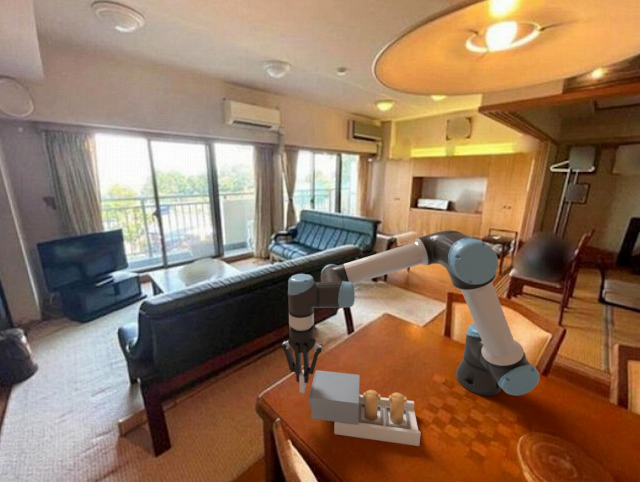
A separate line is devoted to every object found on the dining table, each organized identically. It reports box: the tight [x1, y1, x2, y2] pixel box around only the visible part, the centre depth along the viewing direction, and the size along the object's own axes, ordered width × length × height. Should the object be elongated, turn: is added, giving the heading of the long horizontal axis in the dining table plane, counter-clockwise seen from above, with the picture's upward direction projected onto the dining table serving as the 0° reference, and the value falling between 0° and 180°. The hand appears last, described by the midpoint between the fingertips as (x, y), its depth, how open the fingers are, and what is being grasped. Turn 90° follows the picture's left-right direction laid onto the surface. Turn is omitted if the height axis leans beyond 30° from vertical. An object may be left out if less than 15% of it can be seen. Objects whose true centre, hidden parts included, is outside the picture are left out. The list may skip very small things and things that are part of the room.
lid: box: [308, 369, 360, 425], centre depth 90 cm, size 15×12×8 cm
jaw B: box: [388, 392, 408, 424], centre depth 87 cm, size 5×4×8 cm
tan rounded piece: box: [362, 389, 382, 421], centre depth 88 cm, size 5×4×8 cm
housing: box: [333, 394, 422, 447], centre depth 89 cm, size 25×12×4 cm, turn 81°
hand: (302, 389), depth 91 cm, fingers closed
